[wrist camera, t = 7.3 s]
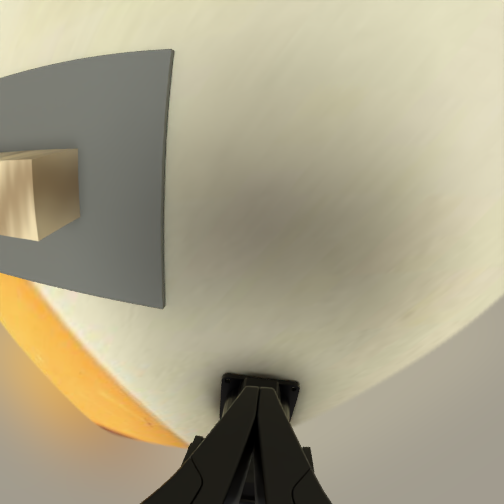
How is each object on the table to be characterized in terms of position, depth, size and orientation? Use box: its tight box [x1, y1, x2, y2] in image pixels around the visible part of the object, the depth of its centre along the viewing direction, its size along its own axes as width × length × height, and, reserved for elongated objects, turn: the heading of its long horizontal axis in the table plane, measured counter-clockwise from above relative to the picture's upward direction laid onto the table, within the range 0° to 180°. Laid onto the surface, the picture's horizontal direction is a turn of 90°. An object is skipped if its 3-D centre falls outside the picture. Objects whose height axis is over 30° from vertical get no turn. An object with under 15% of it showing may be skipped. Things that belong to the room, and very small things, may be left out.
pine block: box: [0, 149, 80, 241], centre depth 18 cm, size 5×5×12 cm
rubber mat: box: [0, 49, 174, 309], centre depth 21 cm, size 18×18×1 cm
